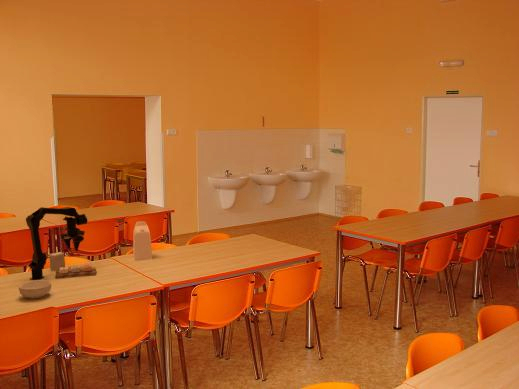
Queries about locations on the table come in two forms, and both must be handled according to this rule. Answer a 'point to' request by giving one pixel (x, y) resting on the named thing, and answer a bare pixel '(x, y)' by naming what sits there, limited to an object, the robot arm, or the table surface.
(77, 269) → the tile two pip
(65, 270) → the tile one pip
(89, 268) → the tile three pip
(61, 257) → the small box
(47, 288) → the cereal bowl
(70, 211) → the robot arm
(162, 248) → the table surface
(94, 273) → the tile tray
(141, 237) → the milk
